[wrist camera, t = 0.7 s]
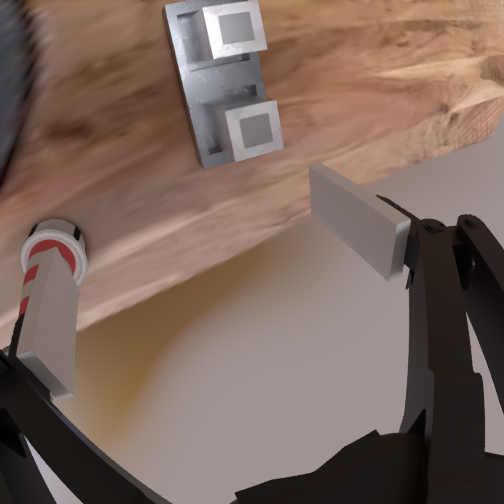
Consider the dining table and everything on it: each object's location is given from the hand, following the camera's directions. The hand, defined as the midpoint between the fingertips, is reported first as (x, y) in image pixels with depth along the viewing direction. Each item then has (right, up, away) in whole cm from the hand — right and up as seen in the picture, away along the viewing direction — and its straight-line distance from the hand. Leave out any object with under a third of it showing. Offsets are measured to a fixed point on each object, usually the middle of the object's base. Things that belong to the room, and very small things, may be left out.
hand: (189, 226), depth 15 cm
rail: (-1, +19, +19) cm, 27 cm away
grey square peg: (-2, +23, +15) cm, 28 cm away
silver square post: (0, +15, +21) cm, 26 cm away
